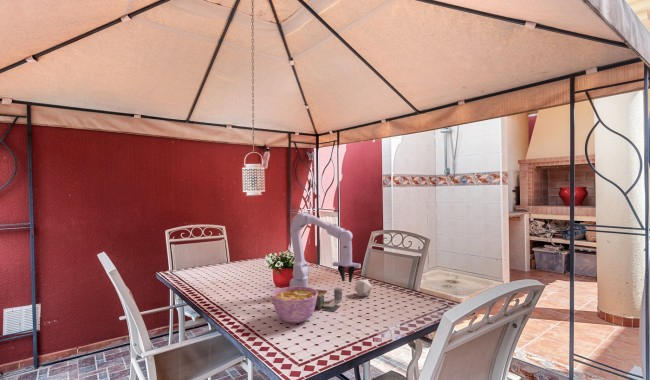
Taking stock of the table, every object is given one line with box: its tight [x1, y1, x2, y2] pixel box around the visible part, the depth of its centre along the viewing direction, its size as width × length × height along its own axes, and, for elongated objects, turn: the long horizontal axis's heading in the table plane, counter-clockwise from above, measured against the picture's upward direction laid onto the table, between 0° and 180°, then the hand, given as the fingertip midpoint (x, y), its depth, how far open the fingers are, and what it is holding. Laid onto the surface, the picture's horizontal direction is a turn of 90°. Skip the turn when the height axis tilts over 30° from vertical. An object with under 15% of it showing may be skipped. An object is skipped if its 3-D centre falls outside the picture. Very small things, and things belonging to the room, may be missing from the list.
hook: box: [315, 287, 343, 309], centre depth 158 cm, size 10×15×6 cm
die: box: [354, 279, 373, 298], centre depth 170 cm, size 8×9×10 cm
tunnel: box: [315, 289, 328, 311], centre depth 155 cm, size 6×8×7 cm
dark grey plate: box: [322, 304, 341, 313], centre depth 152 cm, size 6×8×1 cm
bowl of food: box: [271, 286, 318, 325], centre depth 139 cm, size 20×20×12 cm
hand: (346, 281), depth 164 cm, fingers open, 3 cm apart
